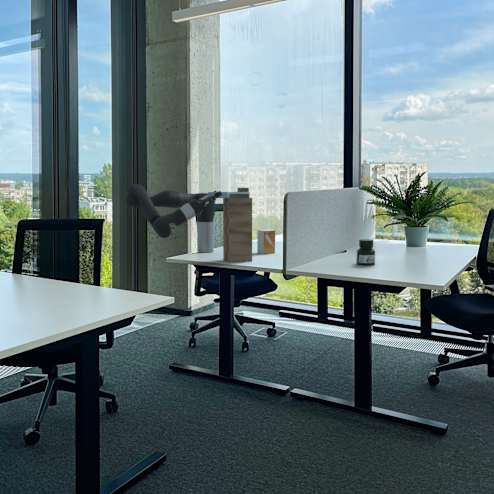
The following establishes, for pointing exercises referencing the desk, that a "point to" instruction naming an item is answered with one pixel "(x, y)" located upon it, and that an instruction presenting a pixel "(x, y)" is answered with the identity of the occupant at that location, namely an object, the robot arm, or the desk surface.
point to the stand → (237, 228)
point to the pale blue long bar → (227, 194)
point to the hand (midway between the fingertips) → (218, 192)
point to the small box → (266, 241)
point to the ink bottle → (365, 252)
